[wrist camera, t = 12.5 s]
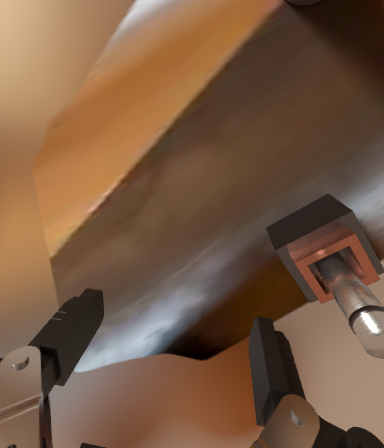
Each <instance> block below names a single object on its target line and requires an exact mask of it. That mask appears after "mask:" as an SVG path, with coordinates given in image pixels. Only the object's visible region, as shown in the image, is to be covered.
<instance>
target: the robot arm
mask: <svg viewBox="0 0 384 448" xmlns="http://www.w3.org/2000/svg"><path fill="white" fill-rule="evenodd" d="M286 1H288V2H290V3H292V4H294V5H299V6H306V5H312V4H315V3H318V2H320V1H321V0H286ZM103 317H104V304H103V292H102V291H101V290H96V289H90V288H87V289H85V290H84V292H83V293H82V294H81V295H80V297H73V298H71V299H70V300H68V301H67V302H65V303H64V304H63V305H62V307H61V308H60V309H59V310H58V312H56V313H55V315H54V316H53V317H52V319H50V320H49V321H48V323H47V324H46V325H45V326H44V327H43V328H42V330H41V331H40V332H39V333H38V334H37V335H36V336H35V338H34V339H33V340H32V341H31V342H30V343H29V344H28V345H27V346H24V347H21V348H18V349H15V350H14V351H12V352H10V353H9V354H8V355H7V356H5V357H4V358H0V448H53V443H52V429H51V428H52V427H51V409H50V394H49V393H50V391H51V390H52V388H53V387H54V385H59V386H64V385H65V383H66V381H67V380H68V378H69V376H70V375H71V373H72V372H73V370H74V368H75V367H76V365H77V363H78V362H79V360H80V358H81V357H82V355H83V353H84V352H85V350H86V348H87V347H88V345H89V343H90V342H91V340H92V338H93V337H94V335H95V333H96V332H97V330H98V328H99V327H100V325H101V323H102V320H103ZM249 358H250V367H251V376H252V385H253V395H254V403H255V412H256V422H257V425H258V426H264V429H263V431H262V432H261V434H260V436H259V437H258V439H257V440H256V441H254V442H253V444H252V445H251V447H250V448H384V444H383V443H382V442H381V441H380V440H379V439H378V438H377V437H376V436H375V435H373V434H372V433H370V432H369V431H367V430H365V429H363V428H359V427H352V428H350V429H348V431H347V432H346V431H344V430H342V429H340V428H338V427H336V426H334V425H332V424H331V423H329V422H327V421H325V420H324V419H322V418H321V417H319V415H317V413H316V411H315V409H314V408H313V407H312V405H311V404H310V403H309V402H307V400H306V398H305V395H304V391H303V388H302V385H301V381H300V378H299V375H298V371H297V368H296V365H295V363H294V358H293V354H292V351H291V347H290V344H289V341H288V340H287V338H286V337H285V336H284V334H283V333H282V332H280V331H275V330H274V326H273V321H272V319H269V318H263V317H257V316H256V317H255V320H254V324H253V327H252V331H251V335H250V338H249ZM80 448H105V447H100V446H96V445H91V444H86V443H82V444H81V447H80Z"/></svg>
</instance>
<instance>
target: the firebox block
mask: <svg viewBox="0 0 384 448" xmlns="http://www.w3.org/2000/svg"><path fill="white" fill-rule="evenodd" d="M266 229H267V232H268V234H269V237H270V239H271V242H272V244H273V247H274V249H275V252H276V253H277V254H278V256H279V257H280V259H281V260H282V262H283V263H284V265H285V266H286V268H287V269H288V271H289V272H290V274H291V275H292V277H293V278H294V280H295V281H296V283H297V284H298V286H299V287H300V288H301V290H302V291H303V293H304V294H305V296H306V297H307V299H308V300H309V302H310V303H312V302H314V301H317V300H319V301H320V303H325V302H327V301H329V300H332V299H335V298H334V297H333V295H332V293H331V291H330V290H329V288H328V286H327V285H326V283H325V281H324V280H323V278H322V276H321V275H320V273H319V271H318V269H317V268H316V266H315V262H316V261H318V260H320V259H322V258H324V257H326V256H329V255H331V254H333V253H335V252H338V253H339V254H340V255H341V256H342V257H343V259H344V260H345V261H346V262H347V263H348V265H349V266H350V267H351V268H352V269H353V271H354V272H355V273H356V274H357V275H358V277H359V278H360V279H361V280H362V281H363V283H364V284H365V285H369V284H371V283H374V282H376V281H378V280H380V278H379V276H378V275H379V274H382V273H384V269H383V267H382V265H381V263H380V261H379V259H378V257H377V255H376V254H375V252H374V250H373V248H372V246H371V244H370V242H369V241H368V239H367V237H366V235H365V233H364V231H363V229H362V227H361V226H360V224H359V222H358V220H357V218H356V216H355V214H354V213H353V211H352V210H351V209H349V208H348V207H346V206H345V205H344V204H342V203H341V202H339V201H338V200H336V199H335V198H334V197H332V196H331V195H329V194H327V195H325V196H323V197H321V198H319V199H318V200H316V201H314V202H312V203H310V204H309V205H307V206H305V207H303V208H301V209H300V210H298V211H296V212H294V213H292V214H291V215H289V216H287V217H285V218H283V219H282V220H280V221H278V222H276V223H274V224H273V225H271V226H269V227H267V228H266Z"/></svg>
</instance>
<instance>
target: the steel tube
mask: <svg viewBox="0 0 384 448" xmlns="http://www.w3.org/2000/svg"><path fill="white" fill-rule="evenodd" d="M315 266H316V268H317V269H318V271H319V273H320V275H321V276H322V278H323V280H324V281H325V283H326V285H327V286H328V288H329V290H330V291H331V293H332V295H333V297H334V298H335V300H336V302H337V303H338V305H339V307H340V308H341V310H342V312H343V314H344V315H345V317H346V319H347V320H348V322H349V326H350V327H351V329H352V331H353V332H354V334H355V335H356V336H357V337H358V339H359V340H360V342H361V344H362V346H363V347H364V349H365V351H366V352H367V353H368V354H369V355H371V356H373V357H376V358H383V359H384V307H383V306H382V304H381V303H380V302H379V301H378V300H377V298H376V297H375V296H374V295H373V294H372V293H371V291H370V290H369V289H368V287H366V285H365V284H364V283H363V281H362V280H361V279H360V278H359V277H358V275H357V274H356V273H355V272H354V271H353V269H352V268H351V267H350V266H349V265H348V263H347V262H346V261H345V260H344V259H343V257H342V256H341V255H340V254H339V253H338V252H335V253H333V254H331V255H329V256H326V257H324V258H322V259H320V260H318V261H316V262H315Z"/></svg>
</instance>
